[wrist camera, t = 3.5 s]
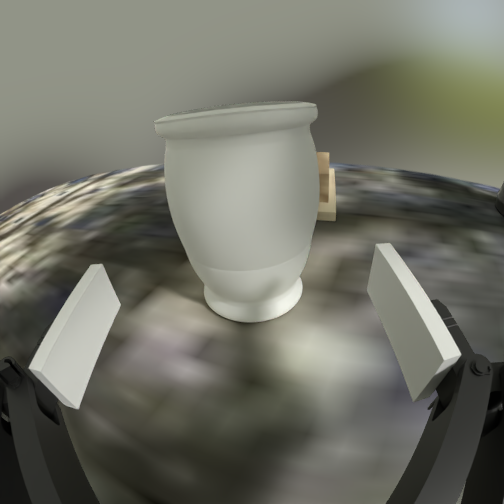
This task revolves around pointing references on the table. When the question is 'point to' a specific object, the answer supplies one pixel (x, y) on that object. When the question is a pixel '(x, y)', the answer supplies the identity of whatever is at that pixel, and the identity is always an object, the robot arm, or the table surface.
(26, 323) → the table surface
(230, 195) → the jar
